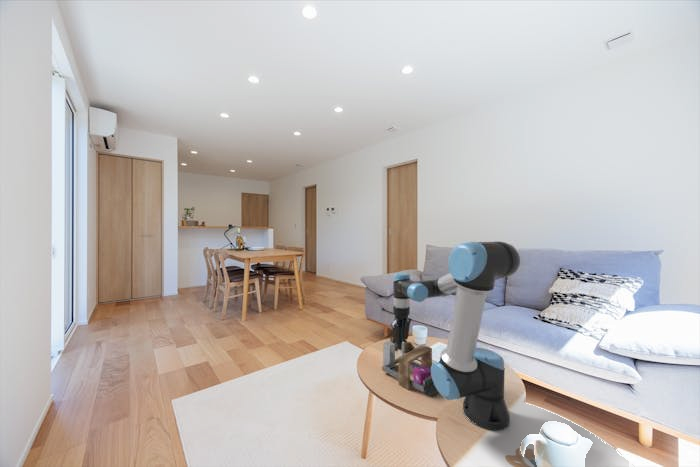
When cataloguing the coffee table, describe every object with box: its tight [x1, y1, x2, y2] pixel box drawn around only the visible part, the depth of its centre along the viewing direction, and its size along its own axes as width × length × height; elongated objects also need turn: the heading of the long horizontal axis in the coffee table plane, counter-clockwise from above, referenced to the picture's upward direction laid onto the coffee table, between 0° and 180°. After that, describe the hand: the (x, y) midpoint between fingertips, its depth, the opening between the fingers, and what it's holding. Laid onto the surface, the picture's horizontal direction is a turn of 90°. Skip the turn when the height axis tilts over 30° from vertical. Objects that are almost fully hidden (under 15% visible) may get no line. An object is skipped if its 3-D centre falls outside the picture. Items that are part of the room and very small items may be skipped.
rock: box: [389, 335, 415, 353], centre depth 153 cm, size 13×10×10 cm
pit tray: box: [424, 385, 440, 398], centre depth 114 cm, size 4×12×1 cm, turn 132°
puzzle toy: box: [413, 366, 431, 385], centre depth 119 cm, size 6×6×6 cm
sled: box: [381, 340, 434, 393], centre depth 124 cm, size 26×15×11 cm, turn 42°
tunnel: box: [398, 344, 433, 391], centre depth 121 cm, size 5×18×12 cm, turn 132°
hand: (401, 355), depth 127 cm, fingers closed
